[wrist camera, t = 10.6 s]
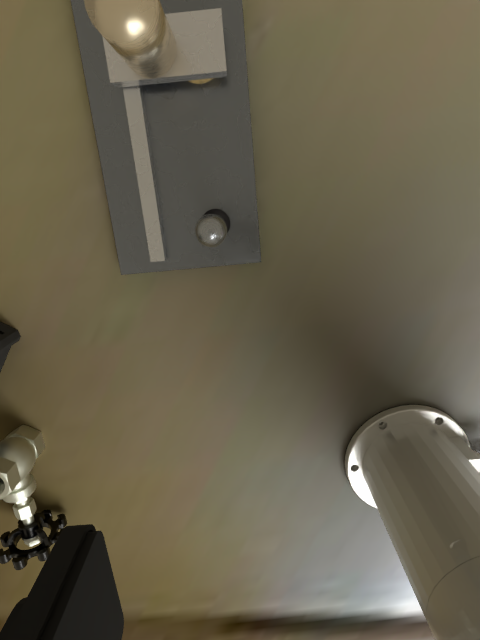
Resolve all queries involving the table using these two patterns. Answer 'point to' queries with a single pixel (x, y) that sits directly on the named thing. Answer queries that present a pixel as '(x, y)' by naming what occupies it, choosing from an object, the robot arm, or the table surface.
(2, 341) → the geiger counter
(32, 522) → the valve
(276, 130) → the table surface
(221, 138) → the plate
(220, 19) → the sliding carriage with knob
